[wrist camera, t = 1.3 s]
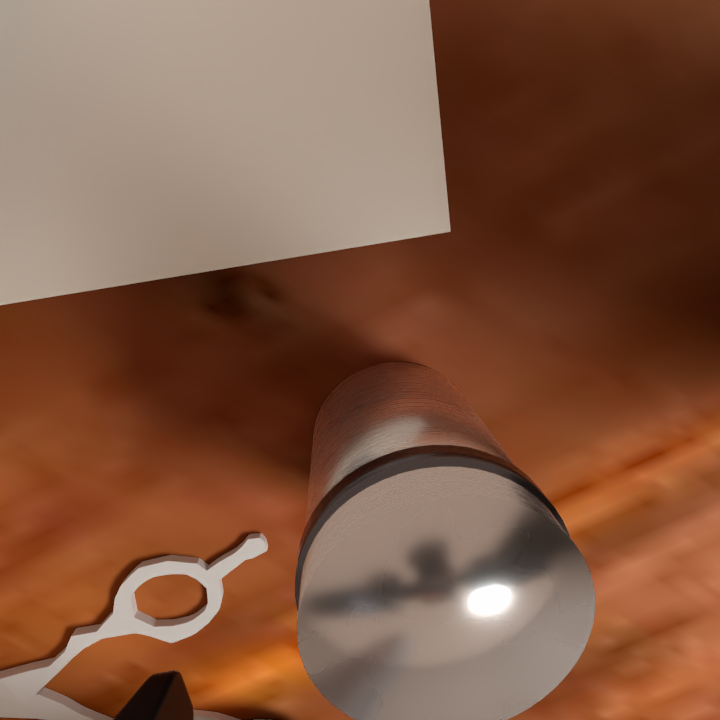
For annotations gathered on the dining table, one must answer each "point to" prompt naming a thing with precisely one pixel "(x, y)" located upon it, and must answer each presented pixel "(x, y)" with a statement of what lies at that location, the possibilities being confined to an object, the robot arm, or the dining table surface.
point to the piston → (430, 560)
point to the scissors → (65, 716)
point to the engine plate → (210, 136)
